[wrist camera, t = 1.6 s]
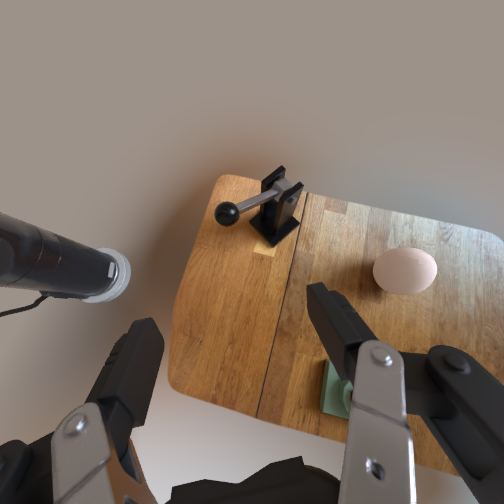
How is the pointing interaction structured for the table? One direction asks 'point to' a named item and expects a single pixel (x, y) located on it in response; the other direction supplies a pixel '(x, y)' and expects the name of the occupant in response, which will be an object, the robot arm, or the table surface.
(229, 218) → the lever
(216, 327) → the table surface
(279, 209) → the bracket
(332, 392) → the button box
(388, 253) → the egg
